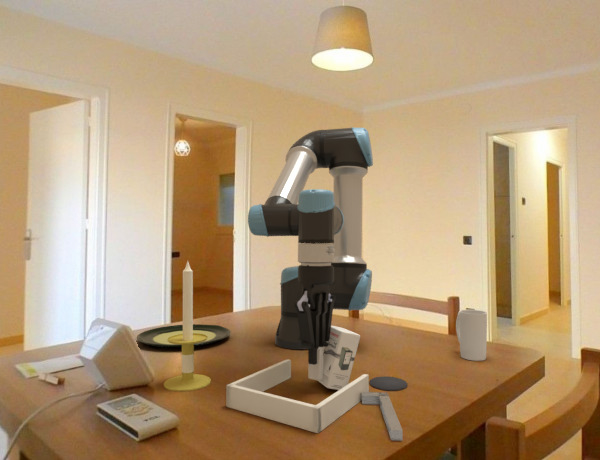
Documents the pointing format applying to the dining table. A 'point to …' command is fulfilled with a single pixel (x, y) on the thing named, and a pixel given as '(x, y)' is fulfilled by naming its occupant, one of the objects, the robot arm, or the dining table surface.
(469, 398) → the dining table surface
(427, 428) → the dining table surface
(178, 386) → the candle
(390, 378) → the dark grey disc
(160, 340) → the plate
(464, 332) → the mug
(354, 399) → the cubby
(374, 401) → the crook tool
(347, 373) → the ink box
